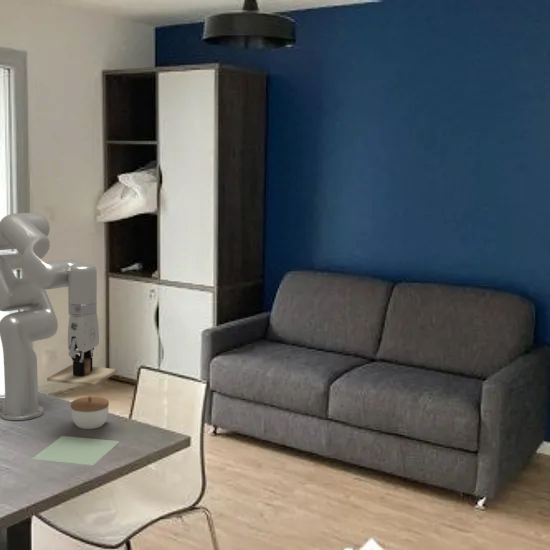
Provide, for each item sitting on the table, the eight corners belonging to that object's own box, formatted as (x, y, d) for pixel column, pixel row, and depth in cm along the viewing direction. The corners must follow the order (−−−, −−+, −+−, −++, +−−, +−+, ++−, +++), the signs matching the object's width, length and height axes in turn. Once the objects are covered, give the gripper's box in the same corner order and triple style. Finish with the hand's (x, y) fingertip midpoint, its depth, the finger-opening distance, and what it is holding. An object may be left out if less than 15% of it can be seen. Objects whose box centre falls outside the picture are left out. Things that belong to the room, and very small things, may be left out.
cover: (47, 381, 205) (46, 363, 204) (72, 367, 218) (72, 351, 217) (94, 386, 202) (94, 369, 201) (117, 372, 215) (117, 355, 214)
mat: (31, 462, 194) (31, 459, 194) (62, 439, 210) (62, 435, 210) (93, 469, 191) (93, 465, 191) (119, 444, 207) (119, 441, 207)
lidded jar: (99, 435, 214) (99, 403, 212) (64, 432, 216) (63, 400, 214) (115, 423, 224) (114, 392, 223) (81, 420, 226) (80, 389, 225)
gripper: (80, 316, 198) (81, 383, 201) (108, 304, 214) (108, 366, 217) (54, 313, 200) (55, 380, 203) (84, 302, 216) (84, 363, 219)
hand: (82, 372), depth 210 cm, fingers closed on cover, 4 cm apart
